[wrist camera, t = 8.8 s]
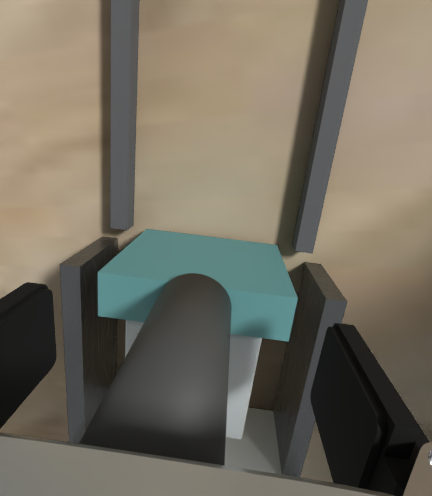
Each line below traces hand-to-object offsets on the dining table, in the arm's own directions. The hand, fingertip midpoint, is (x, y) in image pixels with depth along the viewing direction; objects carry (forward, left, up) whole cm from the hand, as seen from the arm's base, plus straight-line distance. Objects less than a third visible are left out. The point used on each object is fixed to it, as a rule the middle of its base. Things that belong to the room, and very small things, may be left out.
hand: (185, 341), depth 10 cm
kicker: (0, 0, -9) cm, 9 cm away
